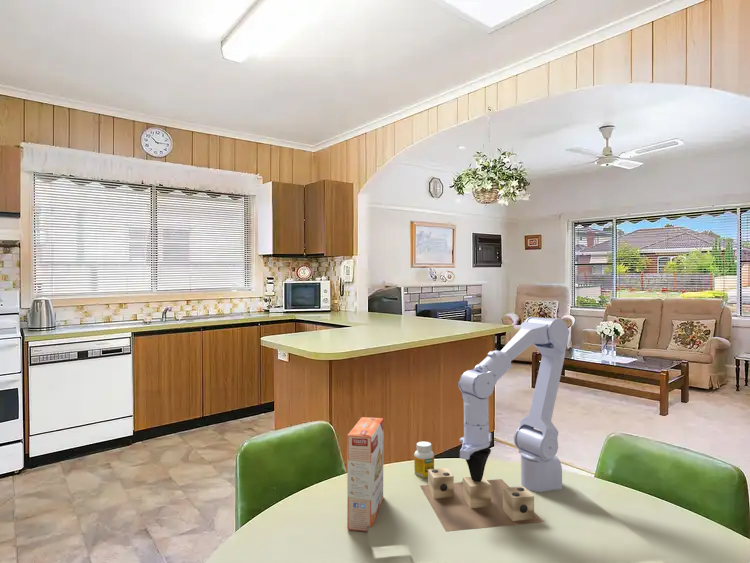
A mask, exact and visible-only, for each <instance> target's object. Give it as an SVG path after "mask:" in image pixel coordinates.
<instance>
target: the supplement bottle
mask: <svg viewBox="0 0 750 563" xmlns="http://www.w3.org/2000/svg"><path fill="white" fill-rule="evenodd" d="M413 460H414V461H413V463H414V465H413V466H414V475H415V476H416V477H418V478H422V479H424V478H426V479H428V469H435V454H434V452H433V450H432V443H431V442H430V441H418V442H416V450H415V452H414V454H413Z"/></svg>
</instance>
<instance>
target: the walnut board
mask: <svg viewBox="0 0 750 563" xmlns="http://www.w3.org/2000/svg"><path fill="white" fill-rule="evenodd" d="M486 480H487V481H488V482H489V483H490V484H491V506H490V507H479V508H470V507H469V506H468V504H467V503H466V501H465V500H464V499H463V481H460V482H454V497H447V498H435V499H434V498H433V497H432V495H431V493H430V492H429V490H428V484H422V485H419V486H420V489H421V490H422V492H423V494H424V496H425V497H426V499H427V500H428V502H429V504H430V506H431V508H432V510H433V512H434V513H435V515H436V517H437V519H438V520H439V522H440V524H441V525H442V528H443V529H444V531H445V532H453V531H464V530H466V531H467V530H476V529H487V528H497V527H507V526H519V525H520V526H521V525H529V524H539V523H545V521H544V520H543V519H542V518H541V517H540V516H539V515H538V514H537V513H536V512H535V511H534V519H529V520H519V521H512V520H511V518H510V517H509V516H508V515H507V514H506V513H505V512H504V510H503V488H509V487H510V486H509V485H508V484H507V483H506V482H505V481H504V480H503V479H502V478H501V479H500V478H498V479H497V478H496V479H486Z"/></svg>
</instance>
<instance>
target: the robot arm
mask: <svg viewBox="0 0 750 563" xmlns="http://www.w3.org/2000/svg"><path fill="white" fill-rule="evenodd" d="M569 335H570V330H569V328H568V326H567V324H566V322H565V321H564V320H562V319H560V318H547V317H546V318H545V317H537V316H529V317H527V318H526V319H525V321H523V322H521V324H520V329H519V330H518V332H516V334H515V335H513V337H512V338H511V339H510V340H509V341H508V342H507V343H506V344H505V345H504V346H503V348H502V349H501V350H497V349H495V350H490V351H489V352H488V353H487V356H486V357H485V358H483V360H482V361H480V362H479V363H477V364H476V365H475V366H474V368H473V369H468V370H466V371H464V372H463V374H461V375H460V378H459V381H458V382H457V385H458V386H457V387H458V389H459V390H460V392H461V396H462V399H463V436H462V437H460V438H459V442H460V443H462V445H461V448H460V450H459V459H462V460H465V462H466V464H467V467H468V471H469V474H470V477H471V479H472V480H474V481H478V482H480V481H481V480H482V478H483V477H484V473H485V467H486V464H487V461H488V458H489V456H490V454H491V453H492V450H491V448H489V447H490V445H491V442H492V433H491V432H489V431H490V428H489V425H490V423H489V417H490V416H489V412H490V411H489V397H490V396H492V394H493V392H494V391H495V386H496V385H497V382H498V381H499V380H500V379H502V377H503V376H504V375H505V374H506V373H507V372H508V371H510V369H511V368H512V361H514V360H515V359H516V358H517V357H518V356H519V355H521V354H522V353H523V352H524V351H525V350H527V349H528V348H529V347H530V346H532V345H533V346H534V347H535V348H536V349H537V350H538V352H540V355H541V360H540V364H539V367H538V368H539V369H538V373H537V377H536V383H535V386H534V392H533V395H532V399H531V405H530V407H529V408H530V409H529V414H528V415H526V416H525V417H522V418H521V419H520V421H519V425H518V428H516V430H515V433H514V436H513V443H514V445H515V447H516V448H517V449H518V453H519V454H520V485H521V486H524V487H525V488H526V489H527V490H528V491H532V492H537V493H545V492H549V491H556V490H563V467H562V464H561V460H560V459H559V458H558V456H557V453H558V450H559V440H558V438H559V437H558V436H559V430H558V429H557V427H556V426H555V425H554V423H553V422H552V418H553V415H554V414H553V413H554V408H555V404H556V400H557V394H558V391H559V385H560V381H561V376H562V371H563V366H564V362H565V357H566V349H567V344H568V340H569Z"/></svg>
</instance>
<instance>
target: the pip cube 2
mask: <svg viewBox="0 0 750 563" xmlns="http://www.w3.org/2000/svg"><path fill="white" fill-rule="evenodd" d="M503 510H504V512H505V513H506V514H507V515H508V516H509V517H510V518H511V520H512V521H519V520H529V519H534V512H535V495H533V493H531V492H530V490H528V489H526V488H525V487H524V486H522V485H521V486H511V487H510V486H509V488H503Z"/></svg>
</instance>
